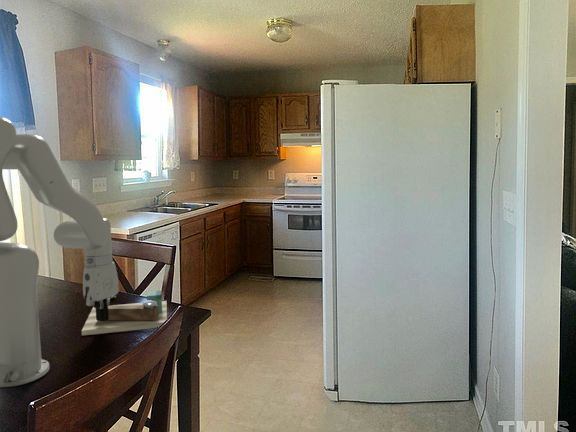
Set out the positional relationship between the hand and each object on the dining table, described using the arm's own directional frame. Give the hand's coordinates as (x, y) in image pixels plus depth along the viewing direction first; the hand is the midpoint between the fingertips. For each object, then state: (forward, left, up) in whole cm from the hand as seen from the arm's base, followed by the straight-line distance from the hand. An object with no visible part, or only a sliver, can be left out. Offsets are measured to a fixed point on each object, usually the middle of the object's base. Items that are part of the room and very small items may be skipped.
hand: (102, 320), depth 131 cm
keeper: (+9, -15, -2) cm, 18 cm away
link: (+3, -7, -1) cm, 8 cm away
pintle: (+1, -13, -2) cm, 14 cm away
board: (+8, -6, -3) cm, 11 cm away
